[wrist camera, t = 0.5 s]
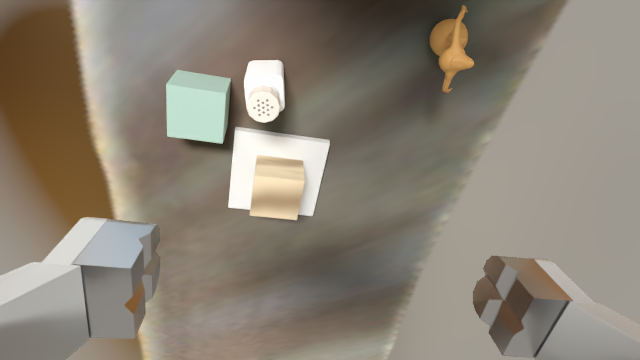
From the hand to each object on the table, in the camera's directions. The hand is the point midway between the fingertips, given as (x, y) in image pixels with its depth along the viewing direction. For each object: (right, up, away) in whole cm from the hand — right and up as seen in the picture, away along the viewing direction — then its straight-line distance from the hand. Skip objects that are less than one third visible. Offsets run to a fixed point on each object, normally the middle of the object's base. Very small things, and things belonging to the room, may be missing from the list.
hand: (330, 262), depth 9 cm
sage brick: (-14, +12, +36) cm, 40 cm away
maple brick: (-6, +2, +41) cm, 42 cm away
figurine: (+13, +19, +34) cm, 41 cm away
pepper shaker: (-7, +14, +35) cm, 38 cm away
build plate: (-6, +3, +42) cm, 43 cm away
